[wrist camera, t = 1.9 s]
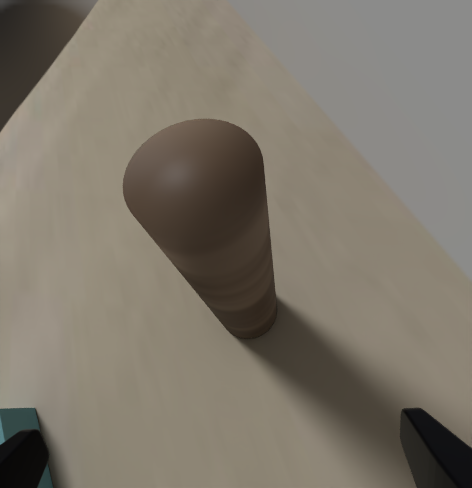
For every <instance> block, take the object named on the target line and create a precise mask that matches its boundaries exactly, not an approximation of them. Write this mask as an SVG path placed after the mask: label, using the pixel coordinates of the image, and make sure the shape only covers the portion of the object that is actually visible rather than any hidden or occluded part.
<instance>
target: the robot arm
mask: <svg viewBox="0 0 472 488" xmlns="http://www.w3.org/2000/svg"><path fill="white" fill-rule="evenodd" d="M400 439H401V444H402V447H403V450H404V453H405V456H406V458H407V461H408V464H409V467H410V470H411V472H412V475H413V478H414V481H415V484H416V486H417V488H472V448H470V447H469V446H468V445H467V444H465V443H464V442H463V441H462V440H461V439H459V438H458V437H457V436H456V435H454V434H453V433H452V432H451V431H449V430H448V429H447V428H446V427H444V426H443V425H442V424H441V423H439V422H438V421H437V420H436V419H434V418H433V417H432V416H431V415H429V414H428V413H427V412H426V411H424V410H423V409H421V408H404V409H402V411H401V421H400ZM48 459H49V450H48V448H47V445H46V443H45V441H44V439H43V436H42V434H41V432H40V431H39V430H38V429H24V430H21V431H19V432H17V433H16V434H14V435H13V436H12V437H10V438H9V439H8V440H6V441H5V442H3V443H2V444H1V445H0V488H38V485H39V483H40V480H41V478H42V475H43V473H44V470H45V468H46V466H47V463H48Z"/></svg>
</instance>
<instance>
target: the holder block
mask: <svg viewBox="0 0 472 488" xmlns="http://www.w3.org/2000/svg"><path fill="white" fill-rule="evenodd" d="M24 429H38V430H39V431H40V428H39V424H38V419H37V415H36V411H35V408H10V409H0V445H1V444H2V443H3V442H5V441H6V440H8V439H9V438H10V437H12V436H13V435H14V434H16V433H17V432H19V431H21V430H24ZM38 488H53V485H52V480H51V476H50V471H49V467H48V463H47V466H46V468H45V470H44V473H43V475H42V478H41V480H40V483H39V485H38Z"/></svg>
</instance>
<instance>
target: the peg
mask: <svg viewBox="0 0 472 488" xmlns="http://www.w3.org/2000/svg"><path fill="white" fill-rule="evenodd" d="M123 194H124V199H125V202H126V204H127V207H128V208H129V210H130V212H131V213H132V214H133V216H134V217H135V218H136V219H137V221H138V222H139V223H140V224H141V225H142V227H143V228H144V229H145V230H146V232H147V233H148V234H149V235H150V236H151V238H152V239H153V240H154V241H155V243H156V244H157V245H158V246H159V247H160V249H161V250H162V251H163V252H164V253H165V255H166V256H167V257H168V258H169V260H170V261H171V262H172V263H173V264H174V266H175V267H176V268H177V269H178V271H179V272H180V273H181V274H182V275H183V277H184V278H185V279H186V280H187V282H188V283H189V284H190V285H191V286H192V288H193V289H194V290H195V291H196V293H197V294H198V295H199V296H200V297H201V299H202V300H203V301H204V302H205V304H206V305H207V306H208V307H209V308H210V310H211V311H212V312H213V313H214V315H215V316H216V317H217V318H218V319H219V321H220V322H221V323H222V324H223V326H224V327H225V328H226V329H227V330H228V331H229V332H230V333H231V334H233V335H235V336H237V337H239V338H244V339H251V338H256V337H259V336H261V335H263V334H264V333H266V332H267V331H268V330H269V329H270V328H271V326H272V325H273V323H274V321H275V318H276V314H277V304H276V294H275V283H274V272H273V261H272V250H271V239H270V228H269V217H268V206H267V196H266V185H265V174H264V163H263V157H262V154H261V151H260V148H259V146H258V145H257V143H256V142H255V140H254V139H253V138H252V137H251V136H250V135H249V134H248V133H247V132H246V131H244V130H243V129H242V128H240V127H238V126H236V125H234V124H231V123H229V122H225V121H221V120H215V119H195V120H189V121H184V122H180V123H177V124H174V125H172V126H169V127H167V128H165V129H163V130H161V131H160V132H158V133H156V134H155V135H153V136H152V137H151V138H149V139H148V140H147V141H146V142H145V143H143V144H142V145H141V147H140V148H139V149H138V150H137V151H136V152H135V154H134V155H133V157H132V158H131V160H130V162H129V163H128V166H127V168H126V171H125V175H124V179H123Z"/></svg>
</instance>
